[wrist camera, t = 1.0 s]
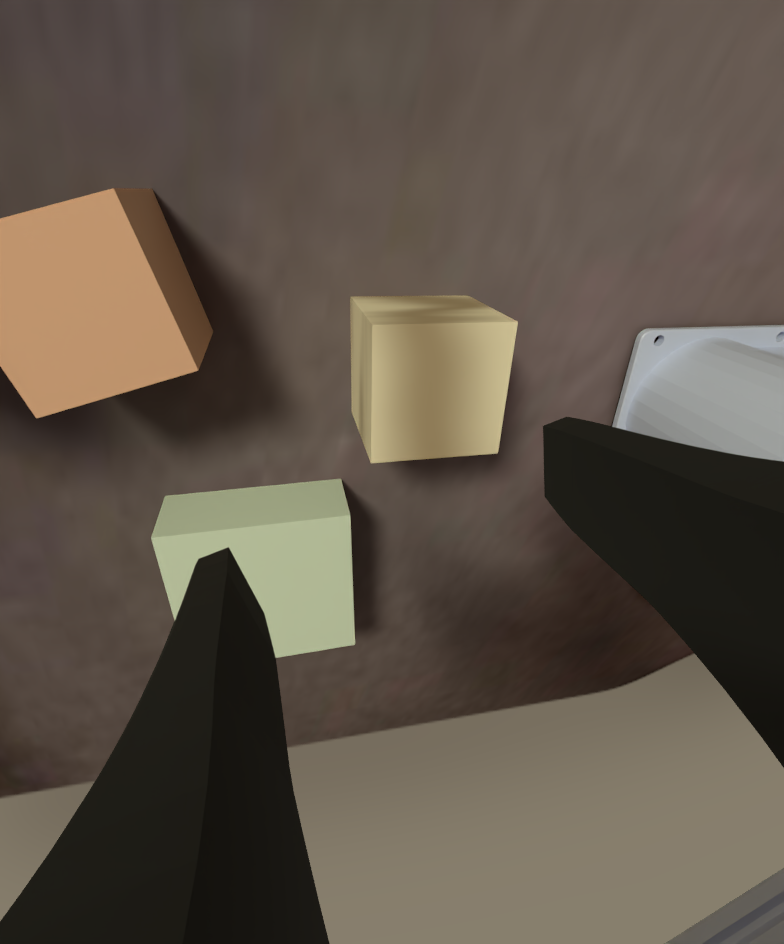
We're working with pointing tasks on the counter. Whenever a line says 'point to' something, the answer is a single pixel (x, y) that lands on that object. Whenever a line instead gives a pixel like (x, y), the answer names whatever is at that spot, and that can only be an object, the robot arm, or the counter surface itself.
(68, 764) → the counter surface
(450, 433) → the beech cube
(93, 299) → the terracotta block
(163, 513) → the sage block
